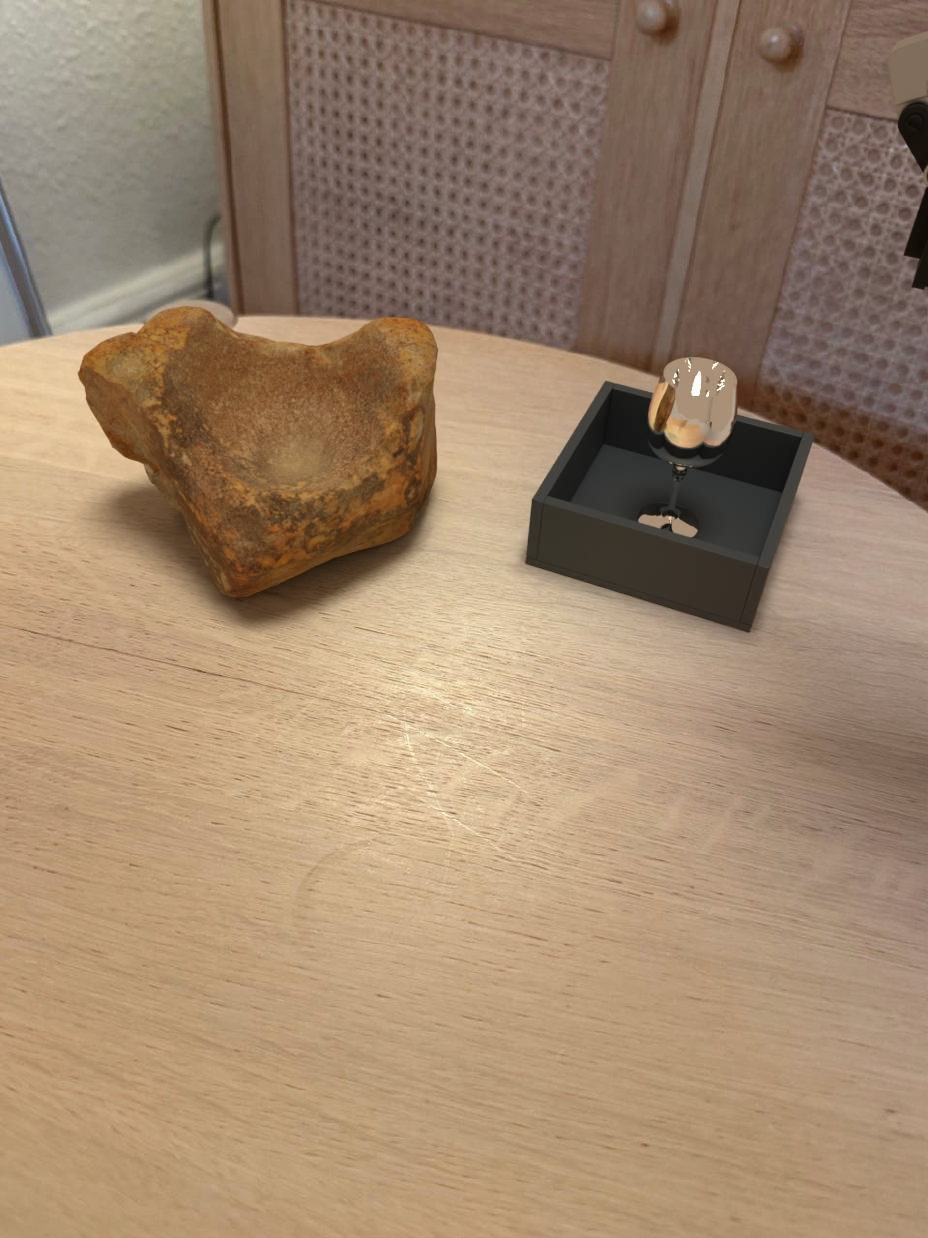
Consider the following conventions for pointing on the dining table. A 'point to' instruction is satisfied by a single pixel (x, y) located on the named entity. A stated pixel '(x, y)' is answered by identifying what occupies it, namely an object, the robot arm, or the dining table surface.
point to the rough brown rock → (273, 436)
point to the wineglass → (688, 430)
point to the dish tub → (635, 477)
